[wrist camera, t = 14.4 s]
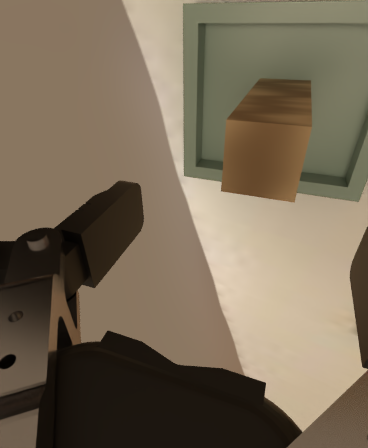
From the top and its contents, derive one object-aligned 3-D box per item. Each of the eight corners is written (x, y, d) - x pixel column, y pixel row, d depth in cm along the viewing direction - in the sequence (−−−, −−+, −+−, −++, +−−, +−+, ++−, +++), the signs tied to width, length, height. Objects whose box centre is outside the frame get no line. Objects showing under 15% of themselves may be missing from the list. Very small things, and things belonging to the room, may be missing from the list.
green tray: (421, 0, 20) (436, -2, 18) (354, 186, 28) (358, 201, 26) (195, 5, 24) (183, 3, 22) (192, 164, 32) (183, 176, 30)
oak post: (310, 80, 24) (312, 126, 14) (300, 130, 26) (294, 202, 16) (260, 78, 25) (226, 119, 15) (254, 126, 27) (221, 191, 17)
